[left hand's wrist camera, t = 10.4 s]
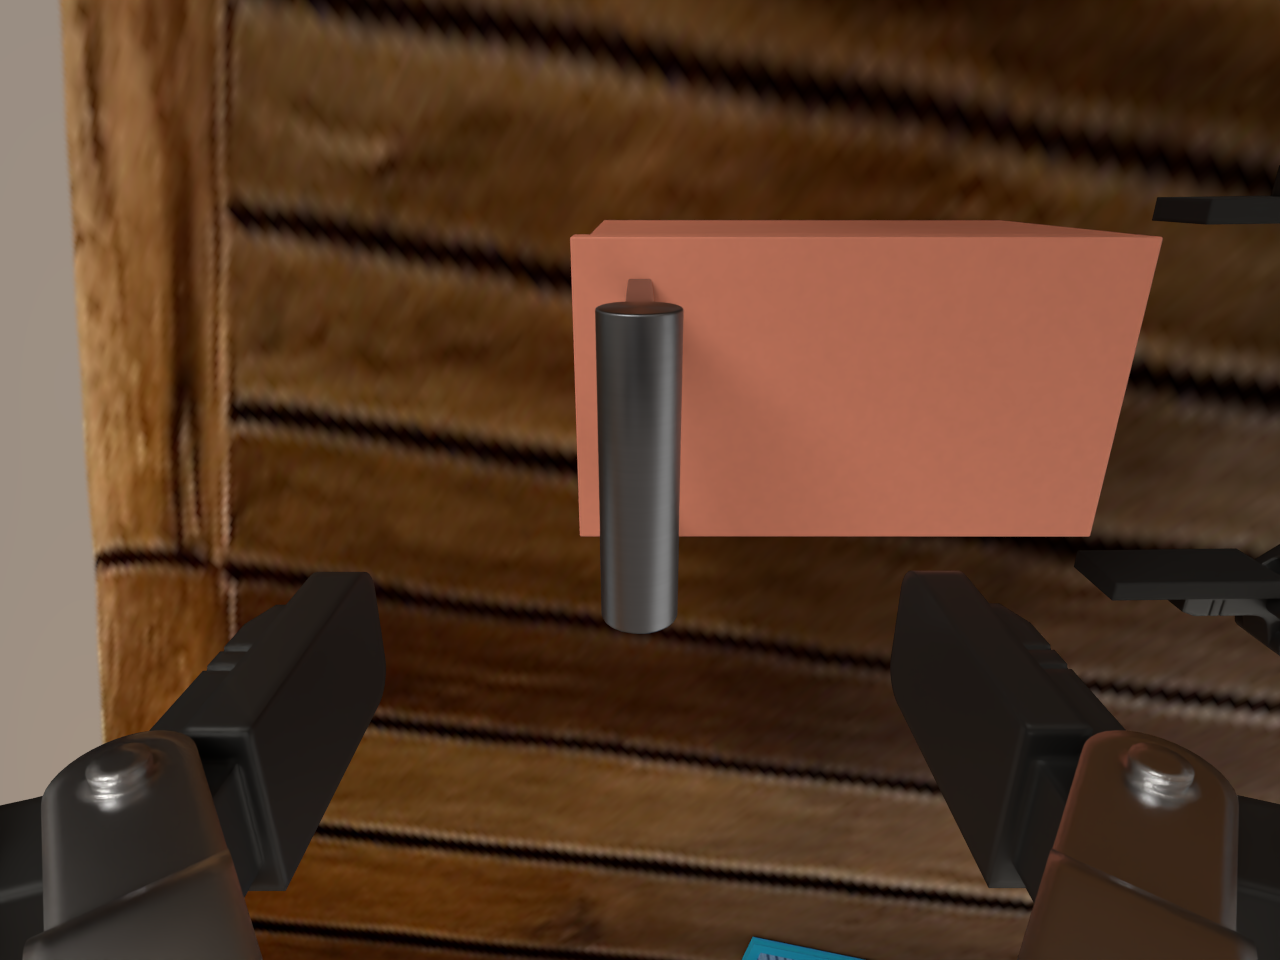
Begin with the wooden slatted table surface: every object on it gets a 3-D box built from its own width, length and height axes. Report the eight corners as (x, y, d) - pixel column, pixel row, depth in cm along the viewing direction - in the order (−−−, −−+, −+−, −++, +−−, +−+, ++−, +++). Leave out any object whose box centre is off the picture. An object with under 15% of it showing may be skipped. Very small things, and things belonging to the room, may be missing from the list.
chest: (606, 437, 35) (595, 522, 26) (602, 220, 32) (588, 234, 23) (964, 438, 35) (1071, 522, 26) (1001, 220, 32) (1138, 234, 23)
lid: (582, 522, 26) (557, 670, 18) (573, 234, 23) (537, 262, 15) (1072, 522, 26) (1260, 670, 18) (1139, 234, 23) (1408, 262, 15)
